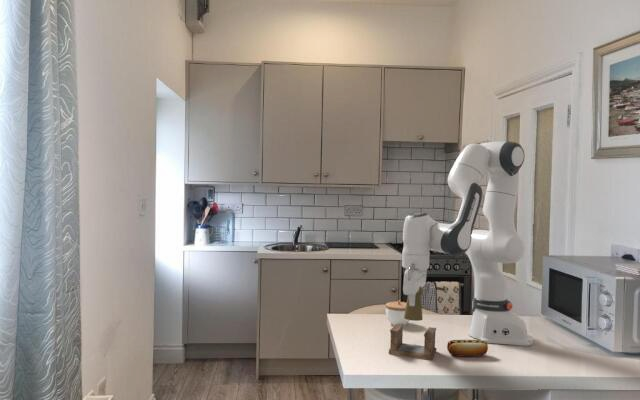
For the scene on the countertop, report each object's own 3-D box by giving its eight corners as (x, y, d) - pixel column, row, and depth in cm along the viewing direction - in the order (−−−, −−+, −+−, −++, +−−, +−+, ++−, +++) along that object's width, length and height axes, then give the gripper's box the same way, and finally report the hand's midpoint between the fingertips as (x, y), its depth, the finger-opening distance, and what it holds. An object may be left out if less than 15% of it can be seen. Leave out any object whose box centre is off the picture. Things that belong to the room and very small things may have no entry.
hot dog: (490, 358, 165) (490, 343, 165) (449, 358, 164) (450, 343, 164) (484, 353, 170) (485, 338, 170) (445, 353, 169) (445, 338, 169)
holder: (436, 351, 171) (437, 328, 170) (431, 360, 162) (432, 335, 162) (395, 345, 176) (395, 323, 176) (388, 353, 167) (389, 330, 167)
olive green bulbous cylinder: (411, 321, 164) (413, 286, 164) (400, 317, 169) (401, 283, 169) (426, 319, 167) (427, 286, 167) (414, 315, 172) (416, 283, 172)
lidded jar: (396, 319, 211) (397, 296, 210) (417, 324, 203) (418, 301, 202) (379, 323, 203) (380, 300, 203) (400, 329, 195) (401, 305, 195)
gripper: (419, 267, 157) (417, 312, 158) (430, 258, 176) (428, 298, 177) (398, 265, 159) (397, 309, 160) (412, 257, 178) (410, 296, 179)
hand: (414, 303), depth 168 cm, fingers closed on olive green bulbous cylinder, 4 cm apart
